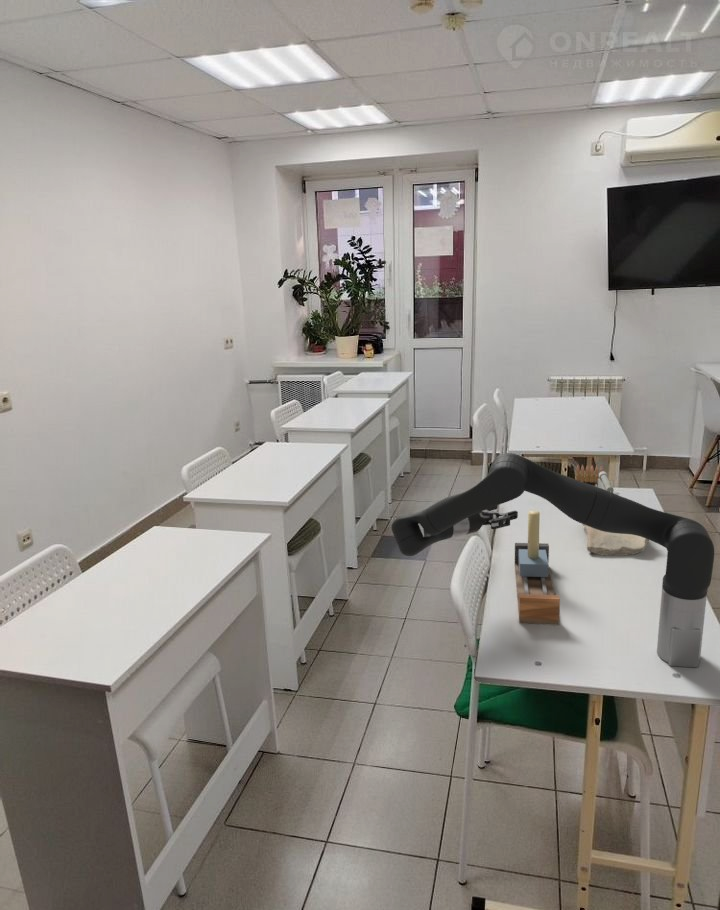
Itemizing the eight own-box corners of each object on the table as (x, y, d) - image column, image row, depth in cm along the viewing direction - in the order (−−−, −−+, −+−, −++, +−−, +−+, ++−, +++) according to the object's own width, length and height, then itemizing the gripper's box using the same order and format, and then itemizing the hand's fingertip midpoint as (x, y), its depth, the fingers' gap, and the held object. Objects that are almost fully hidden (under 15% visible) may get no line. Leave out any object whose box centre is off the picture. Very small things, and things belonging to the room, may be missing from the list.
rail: (558, 624, 168) (559, 599, 165) (519, 623, 170) (519, 597, 167) (547, 565, 199) (548, 543, 197) (514, 564, 201) (514, 542, 199)
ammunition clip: (602, 493, 255) (604, 464, 252) (602, 495, 254) (604, 466, 250) (574, 491, 259) (575, 463, 256) (574, 493, 257) (575, 465, 254)
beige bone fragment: (639, 530, 223) (579, 522, 227) (643, 510, 220) (582, 503, 225) (651, 563, 201) (584, 554, 205) (655, 542, 198) (587, 533, 203)
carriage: (548, 577, 187) (549, 519, 181) (519, 576, 188) (520, 519, 183) (545, 561, 196) (546, 506, 191) (518, 561, 198) (519, 506, 192)
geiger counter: (619, 488, 221) (607, 466, 244) (599, 488, 222) (590, 466, 245) (616, 526, 225) (605, 500, 248) (597, 525, 226) (588, 500, 249)
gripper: (476, 517, 167) (524, 504, 174) (444, 501, 179) (490, 489, 187) (476, 543, 169) (523, 530, 177) (444, 526, 182) (490, 514, 189)
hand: (506, 509), depth 182 cm, fingers open, 8 cm apart
